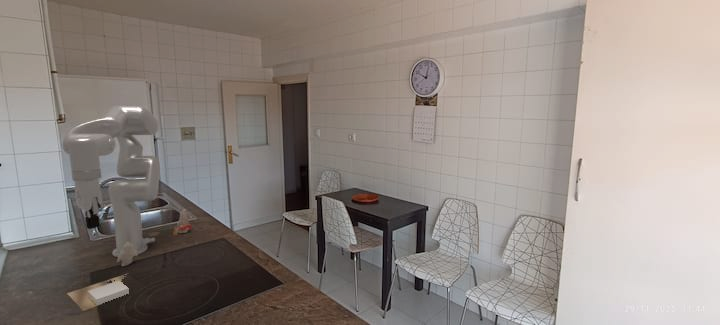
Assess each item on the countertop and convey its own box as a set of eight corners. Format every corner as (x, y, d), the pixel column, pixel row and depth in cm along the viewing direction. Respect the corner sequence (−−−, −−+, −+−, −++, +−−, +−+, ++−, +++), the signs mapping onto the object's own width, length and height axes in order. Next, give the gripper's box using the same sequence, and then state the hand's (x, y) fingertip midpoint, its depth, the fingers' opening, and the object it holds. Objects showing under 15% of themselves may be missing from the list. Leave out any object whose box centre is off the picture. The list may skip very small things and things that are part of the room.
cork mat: (128, 274, 130) (128, 273, 130) (147, 288, 121) (147, 287, 121) (67, 294, 116) (67, 293, 116) (83, 312, 106) (83, 310, 106)
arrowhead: (119, 270, 133) (117, 245, 131) (115, 269, 134) (113, 244, 132) (140, 262, 140) (138, 239, 138) (136, 261, 141) (134, 237, 140)
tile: (119, 280, 120) (128, 288, 116) (119, 286, 121) (129, 294, 116) (87, 291, 113) (96, 299, 109) (88, 297, 114) (97, 305, 109)
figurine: (182, 228, 179) (184, 206, 177) (193, 231, 177) (195, 209, 175) (168, 233, 170) (170, 210, 168) (180, 237, 168) (182, 213, 167)
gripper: (65, 172, 116) (72, 225, 119) (80, 180, 107) (87, 236, 111) (92, 169, 122) (98, 219, 125) (108, 176, 113) (114, 229, 117)
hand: (93, 227), depth 118 cm, fingers closed
